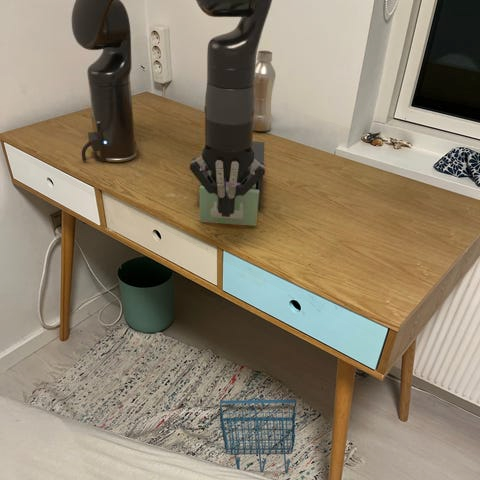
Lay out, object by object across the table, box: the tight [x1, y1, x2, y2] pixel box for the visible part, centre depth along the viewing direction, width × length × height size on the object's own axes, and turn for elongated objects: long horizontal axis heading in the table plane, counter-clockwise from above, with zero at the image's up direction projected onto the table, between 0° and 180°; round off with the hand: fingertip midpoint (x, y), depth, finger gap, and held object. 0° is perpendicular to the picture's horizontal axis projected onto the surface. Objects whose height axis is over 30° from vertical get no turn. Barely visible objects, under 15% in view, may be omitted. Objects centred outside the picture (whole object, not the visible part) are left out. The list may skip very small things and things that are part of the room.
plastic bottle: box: [253, 50, 276, 132], centre depth 137 cm, size 6×7×20 cm
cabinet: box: [200, 140, 265, 211], centre depth 110 cm, size 15×13×9 cm
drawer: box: [199, 169, 259, 227], centre depth 102 cm, size 18×11×7 cm, turn 177°
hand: (225, 214), depth 88 cm, fingers closed
